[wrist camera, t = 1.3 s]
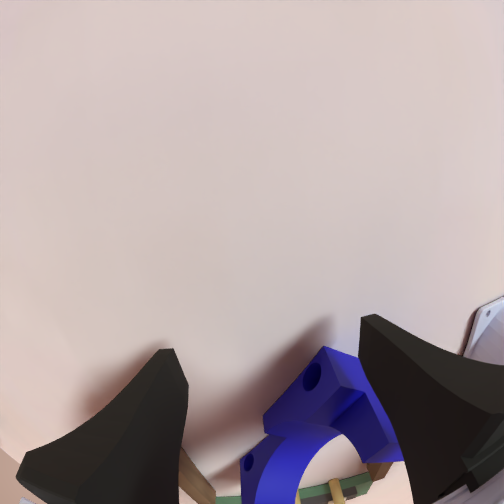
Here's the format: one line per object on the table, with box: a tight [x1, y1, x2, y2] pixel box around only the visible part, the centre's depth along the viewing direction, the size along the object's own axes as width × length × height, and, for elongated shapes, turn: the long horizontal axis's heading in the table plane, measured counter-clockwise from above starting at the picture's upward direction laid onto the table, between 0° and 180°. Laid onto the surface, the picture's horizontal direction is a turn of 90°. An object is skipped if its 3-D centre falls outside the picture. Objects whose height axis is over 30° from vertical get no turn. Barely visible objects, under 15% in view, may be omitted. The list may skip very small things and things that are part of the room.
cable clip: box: [240, 346, 404, 504], centre depth 12 cm, size 12×4×6 cm, turn 152°
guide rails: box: [179, 447, 393, 504], centre depth 15 cm, size 17×15×2 cm
